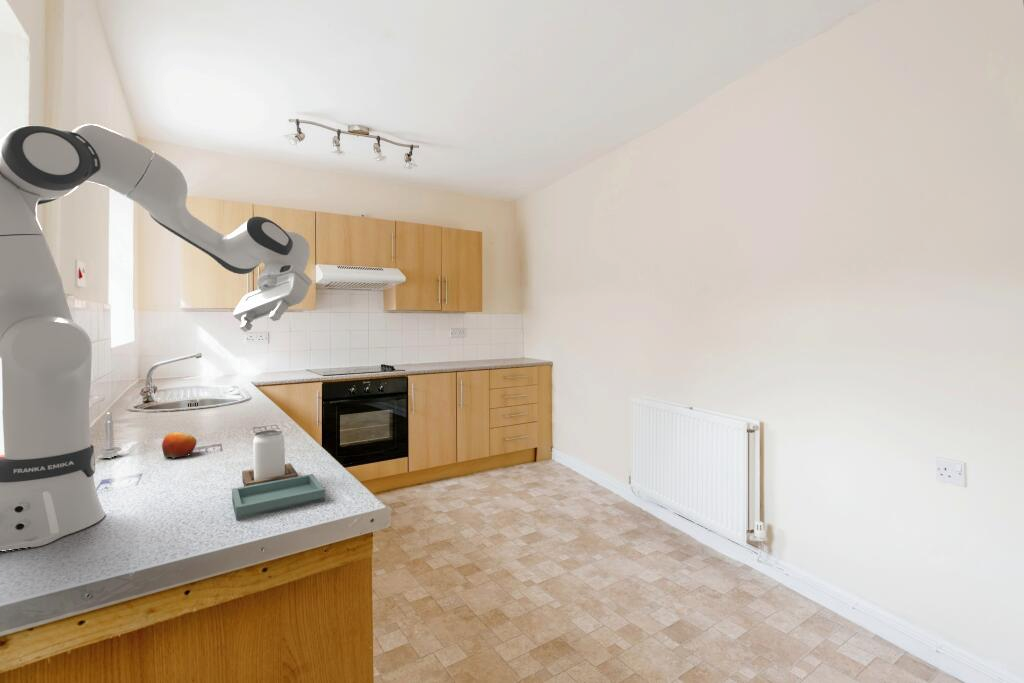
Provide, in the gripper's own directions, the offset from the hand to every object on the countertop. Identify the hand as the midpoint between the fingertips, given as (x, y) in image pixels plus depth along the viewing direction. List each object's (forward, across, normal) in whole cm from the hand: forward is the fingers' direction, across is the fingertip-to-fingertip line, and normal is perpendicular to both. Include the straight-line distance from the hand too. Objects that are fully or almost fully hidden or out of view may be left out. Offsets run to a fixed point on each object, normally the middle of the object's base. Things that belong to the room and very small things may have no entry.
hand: (259, 324), depth 106 cm
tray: (+36, +3, +18) cm, 40 cm away
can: (+29, -7, +22) cm, 38 cm away
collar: (+29, -7, +22) cm, 37 cm away
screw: (+16, -66, +14) cm, 69 cm away
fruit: (+15, -49, +22) cm, 56 cm away
